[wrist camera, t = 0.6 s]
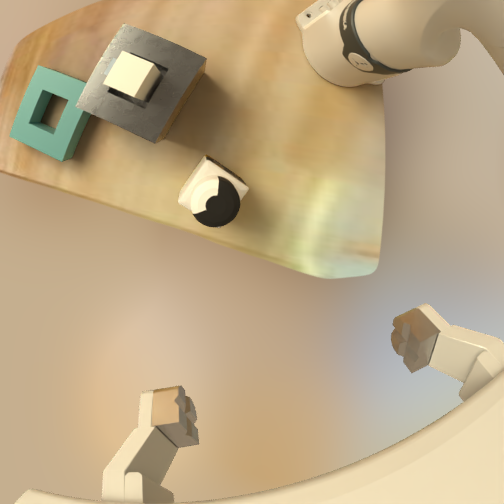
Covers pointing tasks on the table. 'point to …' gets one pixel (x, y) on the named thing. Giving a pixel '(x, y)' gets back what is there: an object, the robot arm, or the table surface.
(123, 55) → the plug
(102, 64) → the dark grey square frame
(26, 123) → the block
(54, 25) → the table surface
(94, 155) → the table surface
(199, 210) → the medicine bottle
